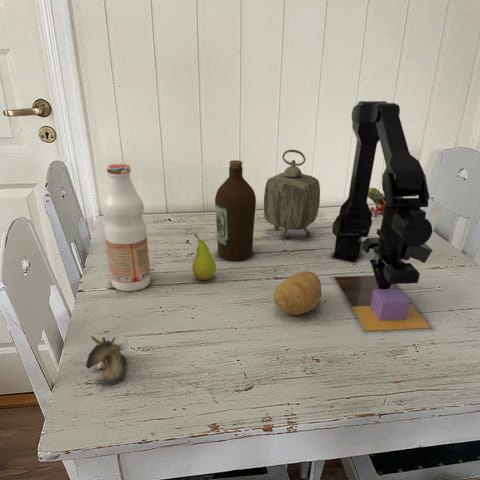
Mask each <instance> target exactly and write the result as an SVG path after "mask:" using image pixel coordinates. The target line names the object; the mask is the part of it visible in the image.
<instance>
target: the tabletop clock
mask: <svg viewBox="0 0 480 480" xmlns="http://www.w3.org/2000/svg"><path fill="white" fill-rule="evenodd" d="M288 153H294V154H299V155H300V156H301V157H302V158H303V161H301V162H299V163H296V160H295V159H292V160H291V161H288V160H287V159H286V158H285V155H286V154H288ZM282 160H283V161H284V163H285V164H287V165H289V166H288V167H286V168H285V169H284V172H280V173H278V174H275V175H273V176H272V177H269V178H268V179H267V181H266V183H265V187H264V195H263V215H264V219H265V221H266V222H267V223H269V224H271V225H273V227H274V228H273V229H274V230H279V229H280V228H283V229H284V232H283V233H282V235H281V236H282V238H283V239H287V238H288V237H289V234H288V230H295V231H300V230H304V232H305V236H306V237H307V238H309V237H311V235H312V232H310V231H308V230H307V227H308V226H311V224H313V223H314V222H316V219H317V217H318V214H319V209H320V203H321V187H320V182H319V179H317V177H314V176H312V175H309V174H305V173H302V171H301V169H300V168H299V167H300V166H302V165H304V164H305V162H306V157H305V154H304V153H303V152H302V151H300V150H298V149H288V150H285V151H284V152H283V154H282Z"/></svg>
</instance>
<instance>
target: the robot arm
mask: <svg viewBox="0 0 480 480" xmlns="http://www.w3.org/2000/svg"><path fill="white" fill-rule="evenodd" d="M400 114H401V109H400V105H399V104H398V103H395V102H387V101H386V100H359V101H358V102H357V104H356V105H355V106H353V108H352V111H351V122H352V124H351V128H352V130H353V133H354V135H355V137H356V145H355V152H354V158H353V164H352V172H351V178H350V185H349V192H348V197H347V199H346V200H345V201H344V202H343V204H342V205H341V206H340V209H339V214H338V215H337V216H336V218H335V220H334V221H333V223H332V229H331V230H332V234H333V235H334V236H335V245H334V252H333V253H332V254H331V258H334V259H338V260H343V261H348V262H352V263H355V262H356V261H357V260H358V259H359V258H360V257H361V256H362V253H363V252H364V253H365V254H369V253H370V251H371V250H373V252H372V253H373V259H369V263H370V265H371V268H372V272H373V276H375V278H376V282H377V285H378V289H389V288H390V286H391V284H396V285H404V284H405V285H406V284H407V285H408V284H409V285H410V284H418V283H419V281H420V278H421V277H420V276H421V273H420V272H419V271H418V269H416V268H415V266H414V265H413V264H412V263H411V262H405V261H410V258H411V259H414V260H417V261H420V262H421V263H423V264H425V263H426V262H427V260H428V259H429V257H430V256H431V254H432V253H433V249H432V248H431V247H430V246H429V245H428V244H427V242H428V241H429V240H430V239H431V237H432V235H433V231H434V230H433V226H432V223H431V221H430V220H429V219H427V218H426V216H427V212H426V211H425V210H424V209H421V208H428V207H429V199H430V198H431V197H430V193H429V188H428V183H427V177H426V173H425V172H424V169H423V167H422V165H421V162H420V160H418V159H417V158H416V157H415V156H413V155H412V154H411V152H410V150H409V145H408V142H407V139H406V135H405V132H404V128H403V125H402V121H401V117H400ZM379 142H380V147H381V151H382V153H383V154H382V155H383V158H384V163H385V169H384V171H383V173H382V175H381V178H382V179H381V187H382V193H383V195H384V198H383V200H384V201H385V202H386V203H385V206H384V212H383V213H382V219H381V225H380V228H377V229H376V235H377V236H378V237H368V236H369V234H370V231H371V228H372V226H373V219H372V216H373V211H372V210H371V207H370V206H369V204H368V199H369V198H368V192H369V188H371V187H370V185H371V180H372V175H373V168H374V164H375V158H376V151H377V146H378V143H379ZM417 196H418V197H417ZM363 238H365V239H364V240H363Z"/></svg>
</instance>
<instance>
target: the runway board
mask: <svg viewBox="0 0 480 480" xmlns="http://www.w3.org/2000/svg"><path fill="white" fill-rule="evenodd" d="M334 280H335V281H336V283H337V285H338V286H339V289H340V290H341V292H342V293H343V295H344V296H345V298H346V300H347V301H348V303H349V305H350V307H351V308H352V307H356V306H371V300H372V295H373V290H374V289H378V285H377V282H376V278H375V275H358V276H357V275H356V276H334ZM389 289H400V288H399V286H398V285H397V284H391V286H390V288H389ZM410 304H412V303H411V302H410Z"/></svg>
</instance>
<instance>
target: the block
mask: <svg viewBox="0 0 480 480" xmlns="http://www.w3.org/2000/svg"><path fill="white" fill-rule="evenodd" d="M410 303H411V301H410V300H409V298H408V297H407V296H406V294H405V293H403V291H402V290H401V289H400V288H399V289H374V290H373V295H372V300H371V306H370V307H371V309H372V310H373V312H374V313H375V315H376V316H377V318H378V319H379V321H383V320H406V317H407V313H408V308H409V304H410Z"/></svg>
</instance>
